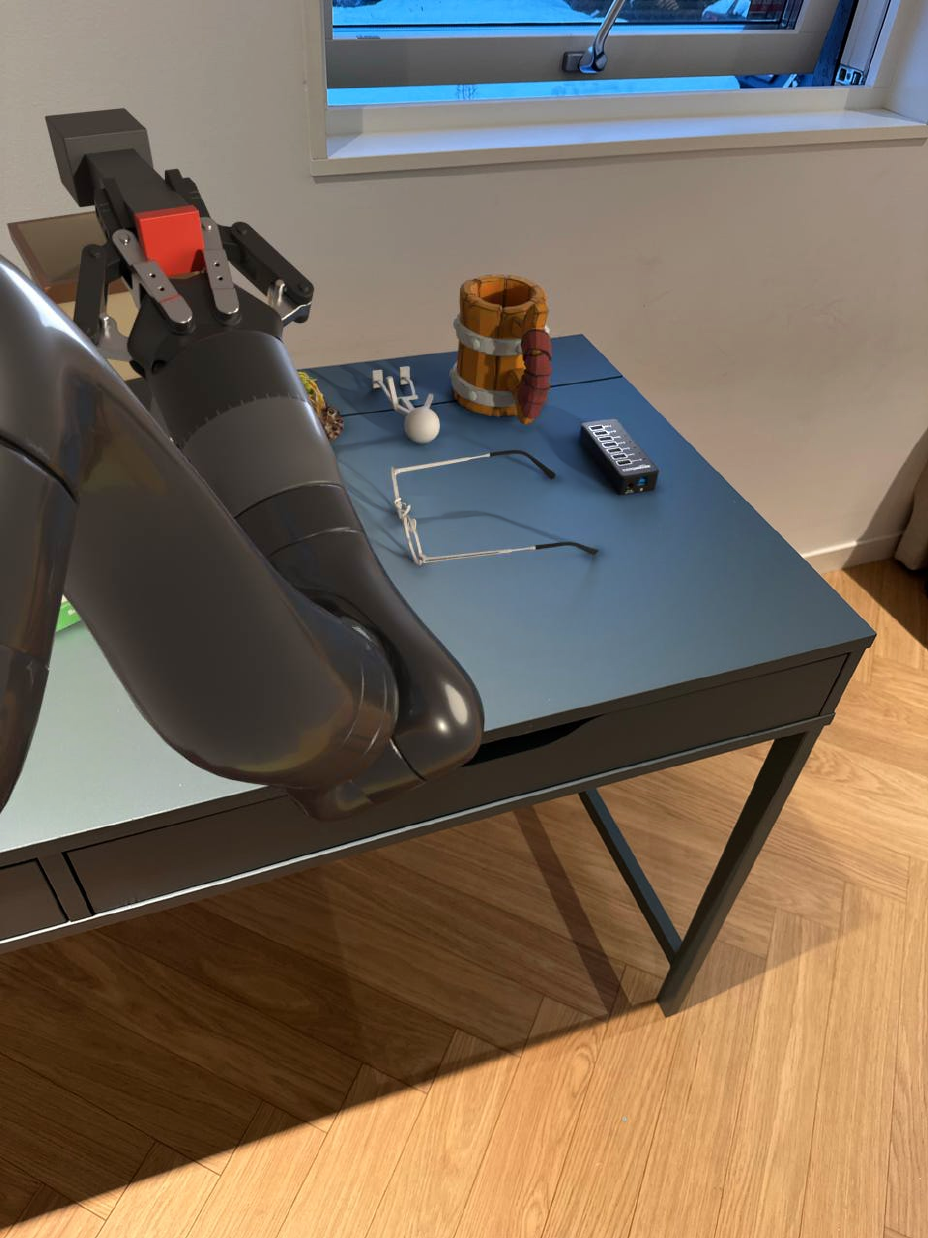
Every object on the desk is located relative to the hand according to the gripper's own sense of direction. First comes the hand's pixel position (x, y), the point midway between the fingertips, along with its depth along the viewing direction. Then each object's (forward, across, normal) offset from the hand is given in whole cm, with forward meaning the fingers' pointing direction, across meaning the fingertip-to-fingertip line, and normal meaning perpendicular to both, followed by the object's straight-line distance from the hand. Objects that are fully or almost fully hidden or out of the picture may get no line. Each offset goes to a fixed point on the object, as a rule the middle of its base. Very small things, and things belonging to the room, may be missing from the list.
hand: (139, 185), depth 51 cm
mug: (+2, -42, +44) cm, 61 cm away
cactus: (+7, -15, +47) cm, 49 cm away
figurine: (+4, -31, +45) cm, 55 cm away
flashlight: (+1, 0, +4) cm, 4 cm away
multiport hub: (-12, -46, +36) cm, 60 cm away
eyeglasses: (-15, -28, +34) cm, 47 cm away
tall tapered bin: (-9, 0, +38) cm, 38 cm away
